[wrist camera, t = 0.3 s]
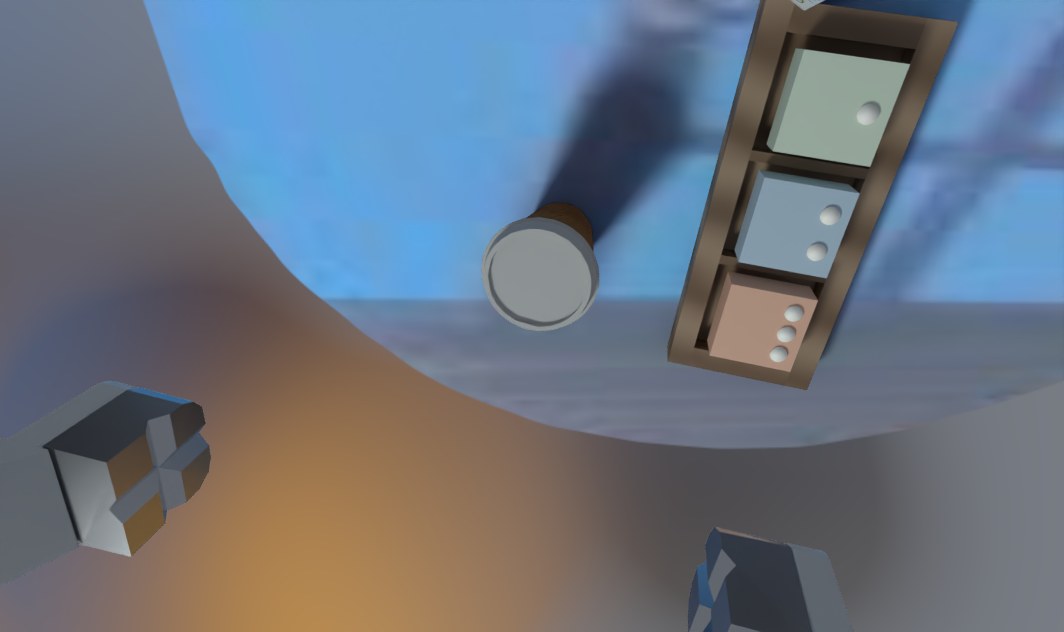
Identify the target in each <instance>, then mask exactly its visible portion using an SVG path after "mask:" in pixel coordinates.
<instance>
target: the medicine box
mask: <svg viewBox="0 0 1064 632" xmlns="http://www.w3.org/2000/svg"><path fill="white" fill-rule="evenodd" d="M791 1H792V2H793V3H794V4H796V5H797V6H798V7H800V8H801V9H803V10H807V9H809V8H811V7H813V6H815V5H817V4H819V3H821V2H823V1H824V0H791Z"/></svg>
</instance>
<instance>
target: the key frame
mask: <svg viewBox="0 0 1064 632" xmlns="http://www.w3.org/2000/svg"><path fill="white" fill-rule="evenodd" d="M957 24H958V22H954V21H947V20H939V19H931V18H924V17H916V16H909V15H901V14H893V13H886V12H878V11H871V10H863V9H855V8H848V7H840V6H833V5H825V4H817V5H815V6H813V7H811V8H809V9H807V10H803V9H801V8H800V7H798V6H797V5H796V4H794V3H793V2H792V1H791V0H760V4H759V8H758V11H757V15H756V19H755V22H754V26H753V30H752V34H751V37H750V41H749V45H748V49H747V52H746V56H745V60H744V63H743V67H742V71H741V75H740V78H739V82H738V86H737V89H736V93H735V97H734V101H733V104H732V108H731V112H730V116H729V119H728V123H727V127H726V130H725V134H724V138H723V142H722V145H721V149H720V153H719V156H718V160H717V164H716V168H715V171H714V175H713V179H712V182H711V186H710V190H709V194H708V197H707V201H706V205H705V209H704V212H703V216H702V220H701V223H700V227H699V231H698V235H697V238H696V242H695V246H694V249H693V253H692V257H691V261H690V264H689V268H688V272H687V275H686V279H685V283H684V287H683V290H682V294H681V298H680V302H679V305H678V309H677V313H676V316H675V320H674V324H673V328H672V331H671V335H670V339H669V342H668V346H667V350H668V361H669V362H673V363H678V364H683V365H688V366H693V367H697V368H702V369H707V370H712V371H717V372H722V373H726V374H731V375H736V376H741V377H746V378H750V379H755V380H760V381H765V382H770V383H774V384H779V385H784V386H789V387H794V388H799V389H803V390H807V388H808V386H809V384H810V381H811V379H812V376H813V374H814V371H815V369H816V367H817V364H818V362H819V359H820V357H821V355H822V352H823V350H824V347H825V345H826V342H827V340H828V338H829V335H830V333H831V330H832V328H833V325H834V323H835V321H836V318H837V316H838V313H839V311H840V308H841V306H842V304H843V301H844V299H845V296H846V294H847V291H848V289H849V287H850V284H851V282H852V279H853V277H854V274H855V272H856V270H857V267H858V265H859V262H860V260H861V257H862V255H863V253H864V250H865V248H866V245H867V243H868V240H869V238H870V236H871V233H872V231H873V228H874V226H875V223H876V221H877V219H878V216H879V214H880V211H881V209H882V206H883V204H884V202H885V199H886V197H887V194H888V192H889V189H890V187H891V185H892V182H893V180H894V177H895V175H896V172H897V170H898V168H899V165H900V163H901V160H902V158H903V156H904V153H905V151H906V148H907V146H908V143H909V141H910V139H911V136H912V134H913V131H914V129H915V126H916V124H917V122H918V119H919V117H920V114H921V112H922V109H923V107H924V105H925V102H926V100H927V97H928V95H929V92H930V90H931V88H932V85H933V83H934V80H935V78H936V75H937V73H938V71H939V68H940V66H941V63H942V61H943V58H944V56H945V54H946V51H947V49H948V46H949V44H950V41H951V39H952V37H953V34H954V32H955V29H956V27H957ZM796 48H797V49H805V50H812V51H819V52H827V53H834V54H841V55H848V56H855V57H862V58H869V59H876V60H883V61H890V62H897V63H905V64H910V66H909V68H908V71H907V74H906V76H905V79H904V81H903V84H902V86H901V89H900V92H899V94H898V97H897V99H896V102H895V104H894V107H893V109H892V112H891V115H890V117H889V120H888V122H887V125H886V127H885V130H884V133H883V135H882V138H881V140H880V143H879V145H878V148H877V151H876V153H875V156H874V158H873V161H872V163H871V166H870V167H868V166H861V165H855V164H849V163H843V162H837V161H831V160H824V159H818V158H812V157H806V156H800V155H793V154H787V153H781V152H775V151H772V150H771V149H770V148H769V147H768V145H767V141H768V138H769V134H770V131H771V128H772V124H773V121H774V118H775V115H776V111H777V108H778V105H779V101H780V98H781V95H782V91H783V88H784V85H785V82H786V78H787V75H788V72H789V68H790V65H791V62H792V58H793V55H794V52H795V49H796ZM759 170H765V171H771V172H777V173H783V174H789V175H796V176H802V177H808V178H814V179H820V180H826V181H832V182H838V183H844V184H849V185H850V186H851V187H852V188H854V189H855V190H856V191H857V192H859V193H860V194H859V197H858V199H857V202H856V204H855V207H854V210H853V212H852V215H851V217H850V220H849V222H848V225H847V228H846V230H845V233H844V235H843V238H842V240H841V243H840V246H839V248H838V251H837V253H836V256H835V258H834V261H833V263H832V266H831V269H830V271H829V274H828V276H827V278H822V277H816V276H811V275H806V274H800V273H795V272H789V271H784V270H779V269H773V268H768V267H762V266H757V265H752V264H746V263H741V262H738V259H737V256H736V253H735V246H736V243H737V240H738V237H739V233H740V230H741V227H742V223H743V220H744V217H745V213H746V210H747V207H748V204H749V200H750V197H751V194H752V190H753V187H754V184H755V180H756V177H757V174H758V171H759ZM728 271H730V272H735V273H740V274H746V275H751V276H756V277H762V278H767V279H772V280H778V281H783V282H788V283H794V284H799V285H804V286H810V288H811V289H812V291H813V293H814V295H815V296H816V298H817V300H818V302H817V305H816V307H815V310H814V312H813V315H812V317H811V320H810V323H809V325H808V328H807V330H806V333H805V335H804V338H803V340H802V343H801V346H800V348H799V351H798V353H797V356H796V358H795V361H794V364H793V366H792V369H791V371H790V372H788V371H783V370H778V369H773V368H768V367H763V366H759V365H754V364H749V363H744V362H739V361H734V360H729V359H724V358H719V357H715V356H710V355H709V348H708V342H707V339H708V336H709V332H710V329H711V326H712V322H713V319H714V316H715V312H716V309H717V306H718V303H719V299H720V296H721V293H722V289H723V286H724V283H725V279H726V276H727V273H728Z"/></svg>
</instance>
